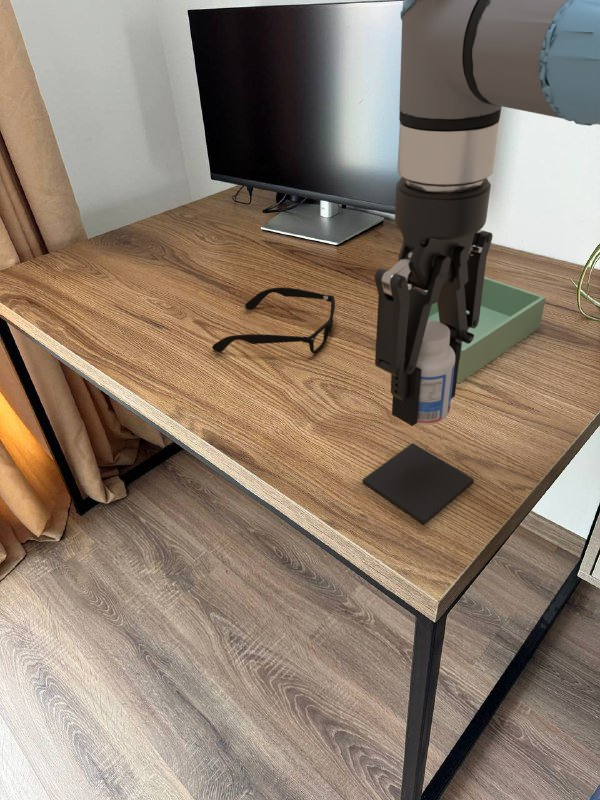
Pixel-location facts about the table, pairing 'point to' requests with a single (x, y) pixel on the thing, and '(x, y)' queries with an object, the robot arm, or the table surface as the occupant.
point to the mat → (418, 482)
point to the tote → (497, 324)
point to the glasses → (280, 338)
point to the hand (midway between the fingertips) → (423, 405)
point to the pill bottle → (435, 374)
